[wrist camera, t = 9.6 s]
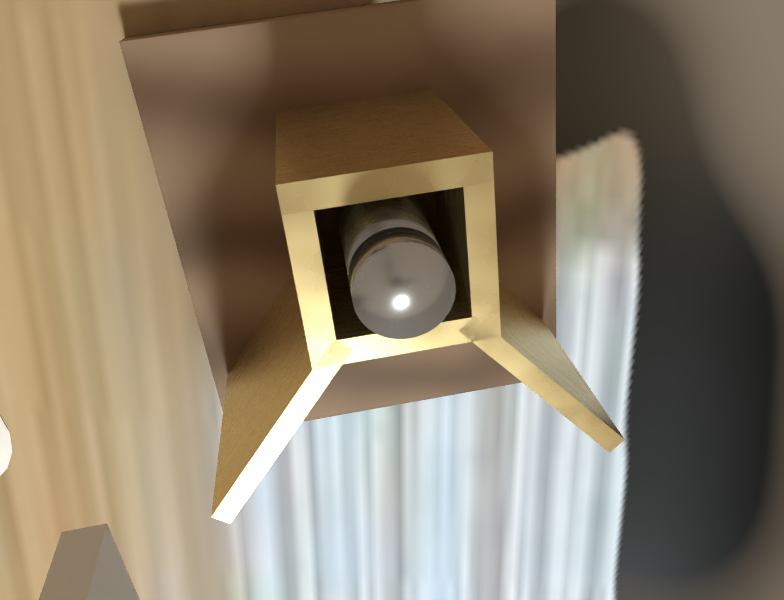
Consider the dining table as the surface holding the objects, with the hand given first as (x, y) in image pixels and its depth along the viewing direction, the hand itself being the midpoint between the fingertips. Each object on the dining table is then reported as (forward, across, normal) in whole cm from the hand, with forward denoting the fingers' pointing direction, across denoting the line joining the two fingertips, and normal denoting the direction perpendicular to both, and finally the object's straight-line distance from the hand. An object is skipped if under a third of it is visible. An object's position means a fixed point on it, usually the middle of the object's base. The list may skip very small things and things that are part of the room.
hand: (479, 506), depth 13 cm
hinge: (+21, 0, -4) cm, 22 cm away
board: (+23, 0, -4) cm, 23 cm away
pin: (+21, 0, -1) cm, 21 cm away
